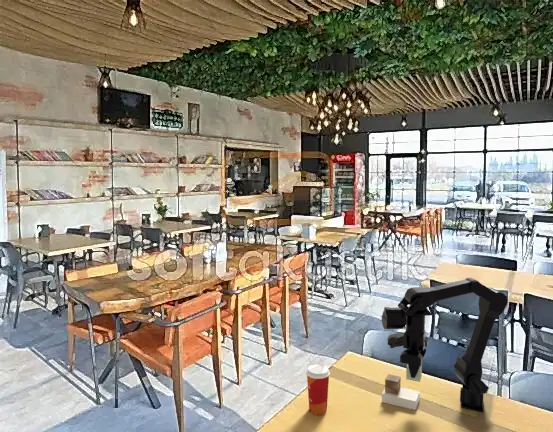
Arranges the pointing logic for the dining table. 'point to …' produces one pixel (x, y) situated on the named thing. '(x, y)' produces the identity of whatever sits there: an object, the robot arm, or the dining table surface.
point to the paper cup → (318, 388)
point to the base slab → (402, 398)
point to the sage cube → (418, 375)
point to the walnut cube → (392, 384)
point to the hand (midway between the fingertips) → (414, 374)
